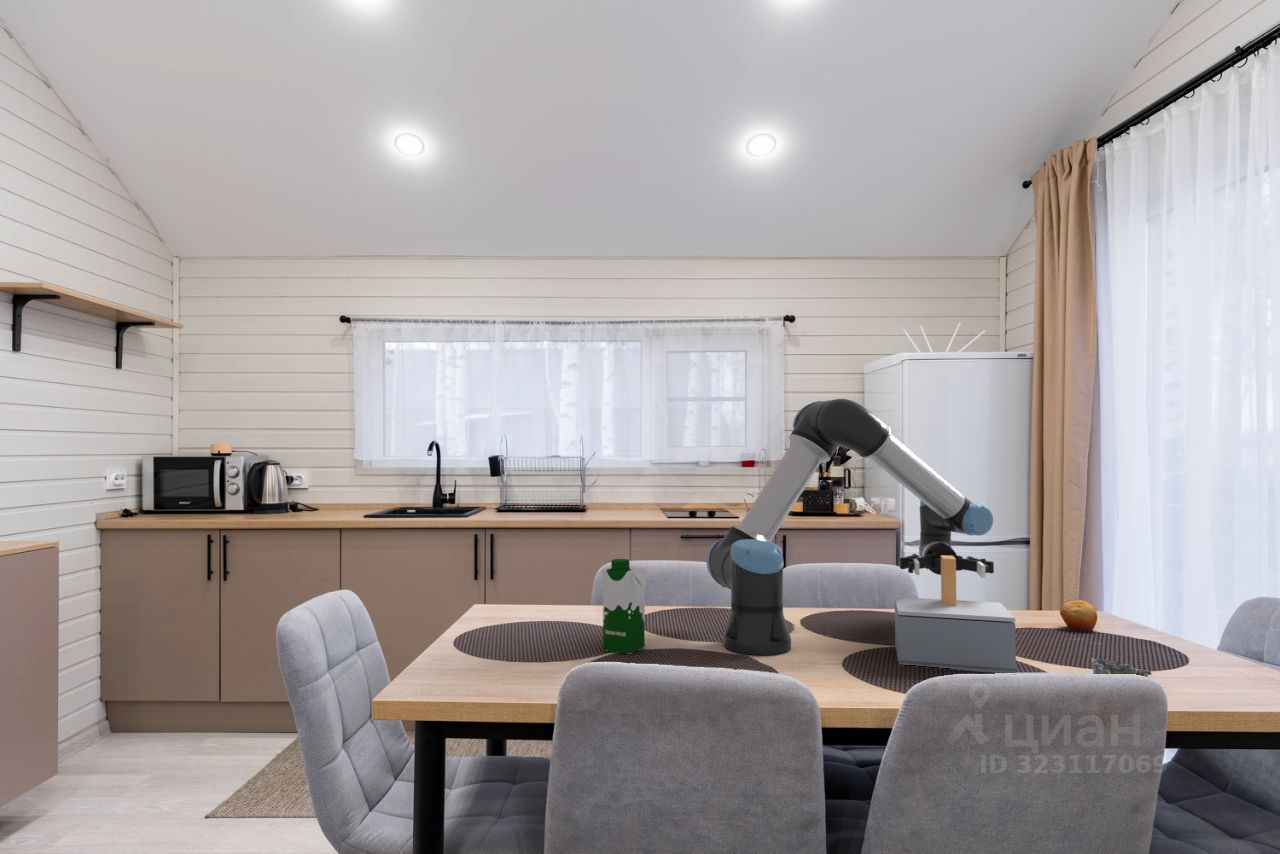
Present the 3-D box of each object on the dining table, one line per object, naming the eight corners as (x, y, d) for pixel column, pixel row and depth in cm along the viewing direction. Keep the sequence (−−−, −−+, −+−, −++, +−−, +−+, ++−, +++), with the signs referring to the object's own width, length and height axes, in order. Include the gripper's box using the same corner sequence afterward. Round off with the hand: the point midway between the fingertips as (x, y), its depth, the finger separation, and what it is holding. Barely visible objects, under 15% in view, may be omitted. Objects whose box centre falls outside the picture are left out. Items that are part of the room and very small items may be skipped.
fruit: (1097, 620, 189) (1097, 596, 186) (1097, 642, 183) (1096, 617, 180) (1061, 616, 193) (1060, 592, 190) (1060, 637, 188) (1058, 613, 184)
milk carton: (597, 651, 163) (597, 560, 163) (615, 642, 171) (616, 555, 172) (633, 656, 159) (633, 562, 160) (650, 646, 167) (650, 557, 168)
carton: (898, 665, 153) (898, 616, 154) (895, 646, 168) (894, 601, 169) (1016, 674, 147) (1015, 623, 147) (1001, 653, 162) (1000, 607, 163)
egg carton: (1154, 694, 136) (1154, 672, 136) (1108, 691, 137) (1108, 669, 138) (1131, 677, 146) (1131, 656, 146) (1089, 674, 148) (1088, 653, 148)
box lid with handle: (898, 614, 154) (897, 562, 154) (894, 600, 169) (894, 552, 169) (1015, 621, 147) (1014, 567, 148) (1000, 606, 163) (999, 556, 163)
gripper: (994, 575, 181) (1012, 590, 161) (887, 570, 188) (891, 584, 168) (994, 544, 182) (1011, 555, 161) (886, 540, 189) (890, 550, 168)
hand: (950, 570), depth 164 cm, fingers open, 13 cm apart
